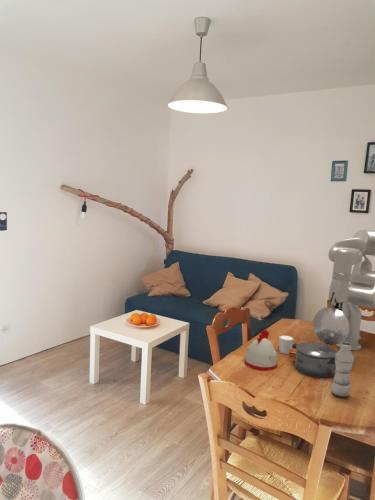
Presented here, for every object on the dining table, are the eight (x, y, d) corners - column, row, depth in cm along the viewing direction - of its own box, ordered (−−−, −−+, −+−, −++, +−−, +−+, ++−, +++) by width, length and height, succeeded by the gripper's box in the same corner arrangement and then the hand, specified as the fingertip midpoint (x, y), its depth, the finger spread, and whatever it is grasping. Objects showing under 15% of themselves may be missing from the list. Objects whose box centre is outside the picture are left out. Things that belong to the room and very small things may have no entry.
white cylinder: (292, 355, 179) (294, 341, 178) (277, 353, 180) (279, 339, 179) (292, 349, 186) (293, 336, 185) (277, 348, 187) (278, 334, 186)
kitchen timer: (282, 364, 168) (285, 331, 166) (266, 374, 158) (269, 339, 156) (255, 354, 177) (258, 323, 175) (238, 363, 167) (240, 330, 165)
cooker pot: (302, 356, 178) (304, 337, 177) (356, 376, 159) (358, 356, 158) (281, 364, 167) (283, 345, 166) (336, 388, 149) (338, 366, 147)
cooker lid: (310, 338, 175) (313, 338, 177) (344, 350, 163) (347, 349, 165) (316, 303, 175) (320, 303, 177) (351, 312, 163) (354, 312, 165)
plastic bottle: (327, 390, 146) (332, 340, 144) (344, 390, 147) (350, 340, 144) (335, 399, 140) (341, 346, 137) (353, 399, 141) (359, 347, 138)
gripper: (341, 274, 178) (337, 312, 180) (324, 276, 168) (320, 317, 170) (357, 276, 172) (352, 316, 174) (341, 279, 162) (336, 321, 164)
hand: (337, 316), depth 172 cm, fingers closed
